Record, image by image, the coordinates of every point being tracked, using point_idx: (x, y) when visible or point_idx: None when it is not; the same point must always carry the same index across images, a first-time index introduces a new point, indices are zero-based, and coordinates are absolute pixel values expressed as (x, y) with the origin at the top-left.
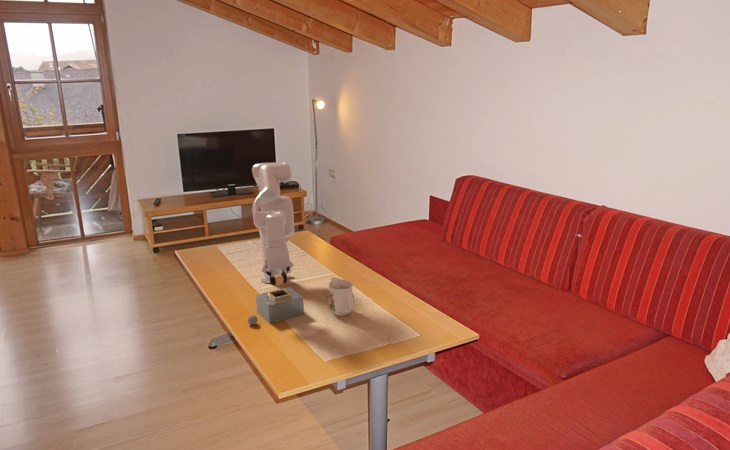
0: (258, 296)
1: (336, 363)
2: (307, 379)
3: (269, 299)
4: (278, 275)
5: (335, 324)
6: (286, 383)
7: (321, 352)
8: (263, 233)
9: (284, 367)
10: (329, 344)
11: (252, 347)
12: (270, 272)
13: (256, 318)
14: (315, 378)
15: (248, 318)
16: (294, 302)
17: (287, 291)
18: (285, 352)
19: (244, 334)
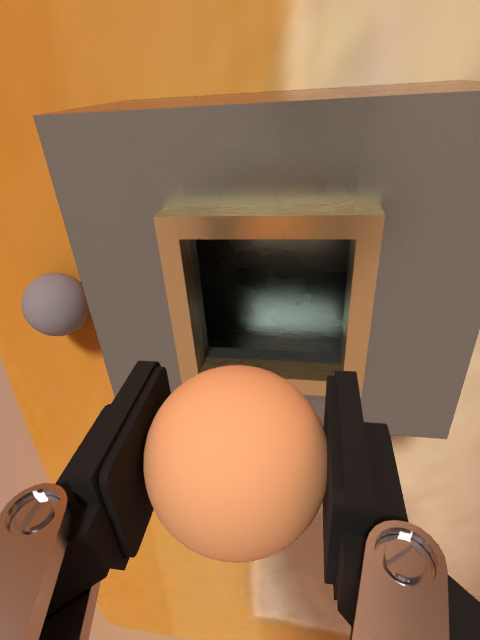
0: (60, 186)
1: (276, 633)
2: (175, 629)
3: (154, 320)
4: (216, 556)
5: (461, 510)
6: (123, 615)
7: (268, 591)
8: None
9: (135, 581)
10: (321, 580)
11: (54, 464)
12: (23, 576)
13: (73, 330)
14: (194, 636)
15: (22, 310)
16: None
17: (413, 236)
18: (161, 539)
19: (24, 363)
